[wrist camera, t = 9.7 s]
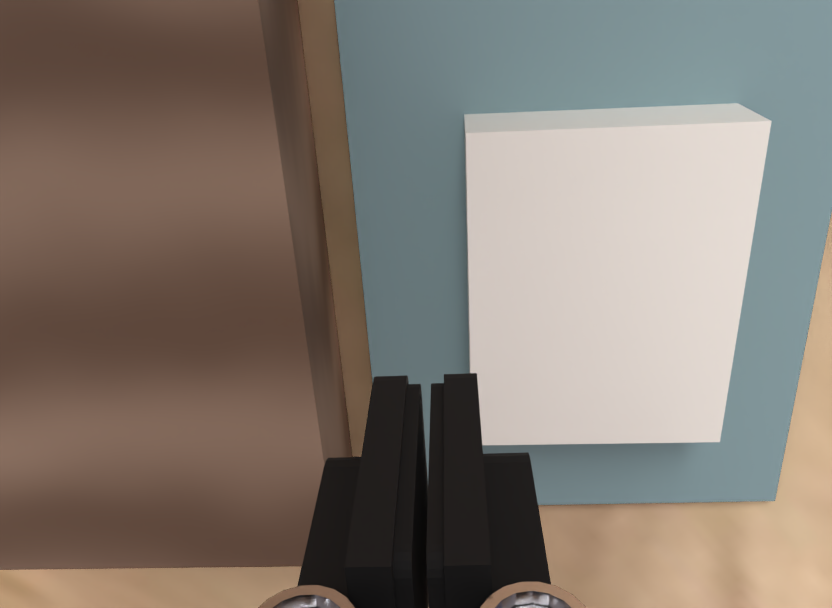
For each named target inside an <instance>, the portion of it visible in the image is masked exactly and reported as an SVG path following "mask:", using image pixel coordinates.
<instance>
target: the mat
mask: <svg viewBox="0 0 832 608" xmlns="http://www.w3.org/2000/svg"><path fill="white" fill-rule="evenodd" d="M334 4H335V14H336V24H337V33H338V43H339V53H340V63H341V73H342V83H343V93H344V103H345V113H346V123H347V133H348V143H349V153H350V163H351V173H352V183H353V193H354V203H355V213H356V223H357V233H358V243H359V253H360V263H361V273H362V283H363V293H364V303H365V313H366V322H367V332H368V342H369V352H370V362H371V372H372V382H373V379H374V377H375V376H404V375H407V376H408V381H409V384H421V391H422V405H423V419H424V434H425V448H426V463H427V477H428V472H429V436H430V400H431V383H444V374H464V373H469V330H468V279H467V229H466V179H465V129H464V114H485V113H510V112H534V111H559V110H583V109H608V108H632V107H657V106H681V105H706V104H730V103H738V104H740V105H742V106H744V107H746V108H748V109H750V110H752V111H753V112H755V113H757V114H759V115H761V116H763V117H765V118H767V119H769V120H771V121H772V122H771V128H770V134H769V141H768V147H767V153H766V159H765V165H764V172H763V178H762V184H761V190H760V196H759V203H758V209H757V215H756V221H755V227H754V234H753V240H752V246H751V252H750V258H749V265H748V271H747V277H746V283H745V289H744V296H743V302H742V308H741V314H740V320H739V327H738V333H737V339H736V345H735V351H734V358H733V364H732V370H731V376H730V382H729V389H728V395H727V401H726V407H725V413H724V420H723V426H722V432H721V438H720V442H695V443H620V444H546V445H482V448H483V454H488V453H525V452H528V453H529V455H530V460H531V466H532V472H533V478H534V484H535V490H536V496H537V503H538V505H565V504H624V503H683V502H742V501H775V498H776V493H777V487H778V482H779V477H780V472H781V467H782V462H783V457H784V452H785V447H786V441H787V436H788V431H789V426H790V421H791V416H792V411H793V406H794V401H795V396H796V390H797V385H798V380H799V375H800V370H801V365H802V360H803V355H804V350H805V344H806V339H807V334H808V329H809V324H810V319H811V314H812V309H813V304H814V299H815V293H816V288H817V283H818V278H819V273H820V268H821V263H822V258H823V253H824V247H825V242H826V237H827V232H828V227H829V222H830V217H831V212H832V0H334Z"/></svg>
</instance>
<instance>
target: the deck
mask: <svg viewBox="0 0 832 608" xmlns="http://www.w3.org/2000/svg"><path fill="white" fill-rule="evenodd" d="M338 457H352V450H351V442H350V434H349V425H348V417H347V409H346V401H345V392H344V384H343V376H342V367H341V359H340V351H339V343H338V334H337V326H336V318H335V309H334V301H333V293H332V285H331V276H330V268H329V260H328V251H327V243H326V235H325V227H324V218H323V210H322V202H321V193H320V185H319V177H318V169H317V160H316V152H315V144H314V135H313V127H312V119H311V111H310V102H309V94H308V86H307V77H306V69H305V61H304V53H303V44H302V36H301V28H300V19H299V11H298V3H297V0H0V570H18V569H103V568H188V567H274V566H302V564H303V559H304V555H305V550H306V546H307V541H308V537H309V532H310V528H311V523H312V519H313V514H314V510H315V505H316V500H317V496H318V491H319V487H320V482H321V478H322V473H323V469H324V465H325V462H326V460H327V459H328V458H338Z"/></svg>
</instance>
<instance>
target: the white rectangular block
mask: <svg viewBox="0 0 832 608" xmlns="http://www.w3.org/2000/svg"><path fill="white" fill-rule="evenodd" d="M771 122H772V121H771V120H769V119H767V118H765V117H763V116H761V115H759V114H757V113H755V112H753V111H752V110H750V109H748V108H746V107H744V106H742V105H740V104H738V103H730V104H706V105H681V106H657V107H632V108H608V109H583V110H559V111H534V112H510V113H485V114H464V129H465V179H466V229H467V279H468V330H469V373H477V381H478V394H479V408H480V421H481V435H482V445H546V444H620V443H695V442H720V438H721V432H722V426H723V420H724V413H725V407H726V401H727V395H728V389H729V382H730V376H731V370H732V364H733V358H734V351H735V345H736V339H737V333H738V327H739V320H740V314H741V308H742V302H743V296H744V289H745V283H746V277H747V271H748V265H749V258H750V252H751V246H752V240H753V234H754V227H755V221H756V215H757V209H758V203H759V196H760V190H761V184H762V178H763V172H764V165H765V159H766V153H767V147H768V141H769V134H770V128H771Z"/></svg>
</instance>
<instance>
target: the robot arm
mask: <svg viewBox="0 0 832 608" xmlns="http://www.w3.org/2000/svg"><path fill="white" fill-rule="evenodd" d="M258 608H586V606H585V605H583V604H582V603H581V602H580V601H579V600H578V599H577V598H576V597H575V596H574V595H573V594H571V593H569V592H567V591H565V590H563V589H561V588H559V587H557V586H555V585H551V582H550V576H549V570H548V564H547V558H546V552H545V545H544V539H543V533H542V527H541V521H540V515H539V509H538V503H537V496H536V490H535V484H534V478H533V472H532V466H531V460H530V455H529V453H528V452H525V453H488V454H483V448H482V435H481V421H480V408H479V394H478V381H477V373H464V374H444V383H431V400H430V436H429V472H428V477H427V463H426V448H425V434H424V419H423V405H422V391H421V384H409V381H408V376H407V375H404V376H375V377H374V379H373V385H372V392H371V398H370V405H369V411H368V418H367V424H366V430H365V437H364V443H363V450H362V456H361V457H338V458H328V459H327V460H326V462H325V465H324V469H323V473H322V478H321V482H320V487H319V491H318V496H317V500H316V505H315V510H314V514H313V519H312V523H311V528H310V532H309V537H308V541H307V546H306V550H305V555H304V559H303V564H302V568H301V573H300V577H299V582H298V586H297V587H294V588H290V589H287V590H283V591H282V592H280V593H278V594H276V595H274V596H272V597H271V598H269V599H267V600H266V601H265V602H264V603H263V604H262V605H261V606H260V607H258Z"/></svg>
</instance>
